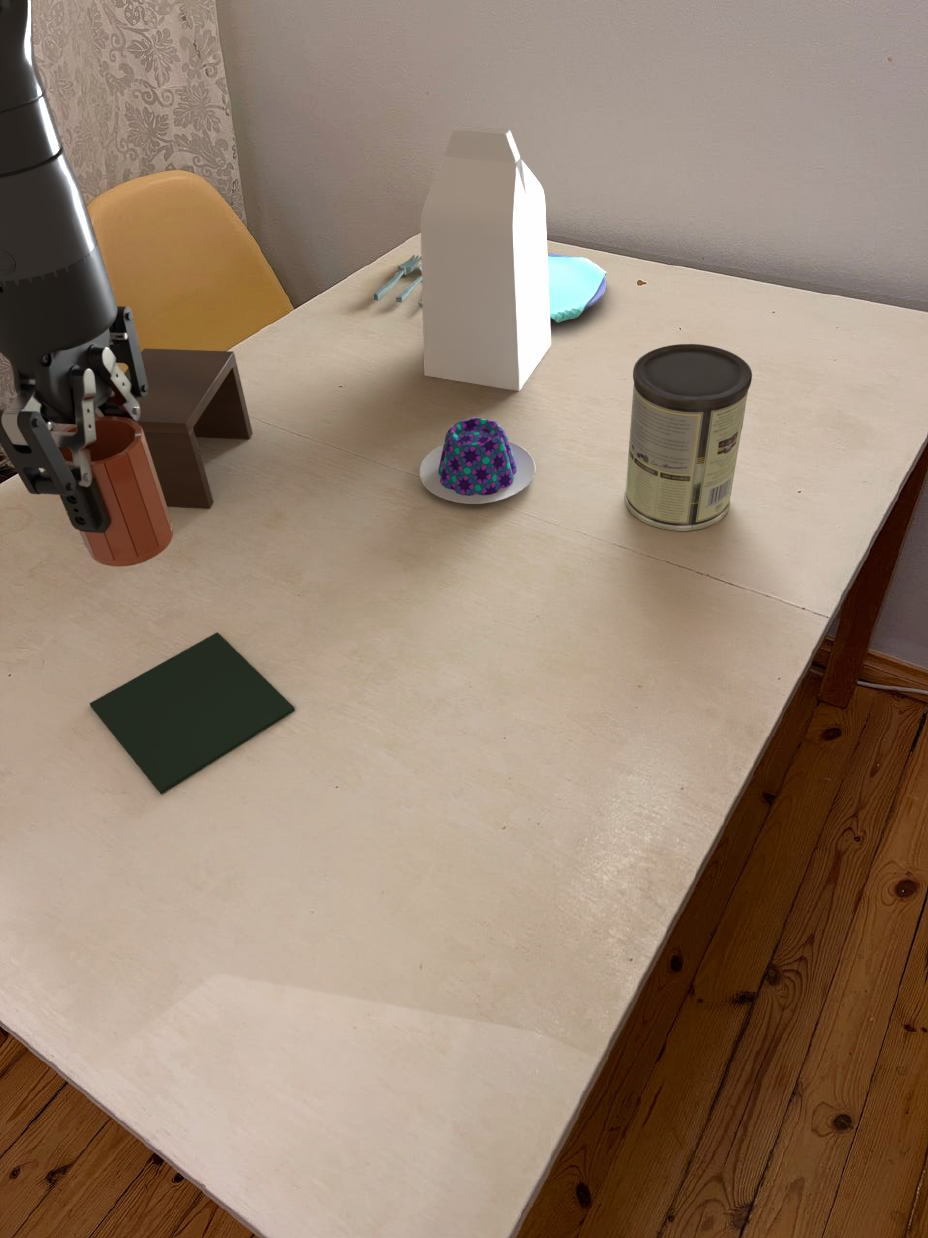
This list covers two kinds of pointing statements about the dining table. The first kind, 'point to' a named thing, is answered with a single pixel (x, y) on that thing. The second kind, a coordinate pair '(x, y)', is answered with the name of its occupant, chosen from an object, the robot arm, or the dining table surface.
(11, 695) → the dining table surface
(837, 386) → the dining table surface
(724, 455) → the coffee can
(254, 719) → the mat
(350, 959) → the dining table surface
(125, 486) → the cup
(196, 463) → the shelf
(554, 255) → the cutlery set
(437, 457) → the pudding
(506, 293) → the milk
